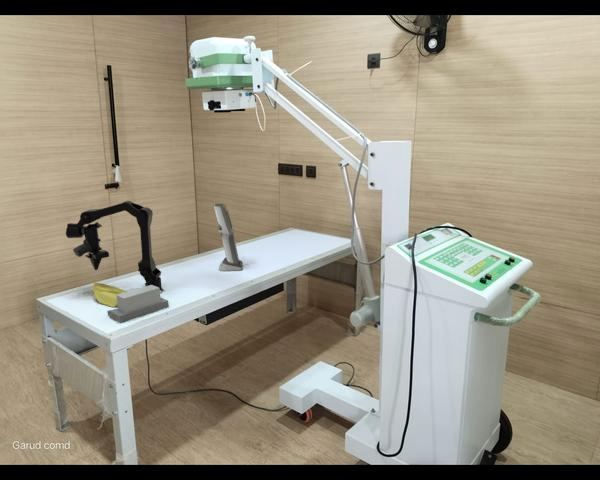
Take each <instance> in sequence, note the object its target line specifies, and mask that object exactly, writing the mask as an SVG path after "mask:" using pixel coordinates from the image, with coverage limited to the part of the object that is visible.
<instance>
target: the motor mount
mask: <svg viewBox="0 0 600 480" xmlns="http://www.w3.org/2000/svg"><path fill="white" fill-rule="evenodd" d="M162 293H163V291H160V288H158V287H156V286H153V285H149V286H146V287H145V286H143V287H142V286H141V287H140V288H136V289H132V290H129V291H128V292H125V293H121V294H118V295H116V297H117V305H118V306H117V307H115V308H114V309H109V310H107V312H106V313H107V316H108V317H109V318H110V319H111V320H113V321H115V322H118V323H120V324H123V323H126V322H129V321H132V320H134V319H137V318H141V317H143V316H147V315H149V314H152V313H155V311H156V312H158V310H159V311H162V310H165V309H168V308H170V306H169V300H168V299H165V298H163V297H161V295H162ZM167 307H168V308H167ZM164 308H165V309H164ZM161 309H162V310H161Z"/></svg>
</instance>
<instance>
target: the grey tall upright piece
mask: <svg viewBox="0 0 600 480" xmlns="http://www.w3.org/2000/svg"><path fill="white" fill-rule="evenodd" d="M213 207H214V208H213V209H214V212H215V216H216V219H217V223H218V228H217V232H218V233H220V237H221V242H222V245H223V250H224V253H225V257H224V259H223V260H222V261H221V263H220V264H219V267H218V270H219V271H220V272H233V271H242V270H243V269H244V268H243V267H244V264H243V261H242V260H240V257H239V253H238V248H237V244H236V240H235V239H236V238H235V234H234V227H233V225H232V221H231V217H230V214H229V210H228V206H227V204H225V203H215V204H214V206H213Z"/></svg>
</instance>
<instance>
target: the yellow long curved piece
mask: <svg viewBox="0 0 600 480" xmlns="http://www.w3.org/2000/svg"><path fill="white" fill-rule="evenodd" d="M92 286H93V287H92V291H93V295H94V298H95V300H97V301H98V302H99V303H100V304H102V305H105V306H108V307H110V308H117V307H118V305H117V297H116V295H118V294H121V293H125V292H128V291H127V290H125V289H122V288H119V287H115V286H113V285H109V284H105V283H100V282H94V283H93V285H92Z"/></svg>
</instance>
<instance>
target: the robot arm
mask: <svg viewBox="0 0 600 480" xmlns="http://www.w3.org/2000/svg"><path fill="white" fill-rule="evenodd" d="M121 212H127V213H128V214H129V215H131V216H132V217H135V218H136V223H137V225H138V227H139V231H140V247H141V248H140V249H141V260H140V261H139V262H137V266H138V270H137V271H138V272H139V274H140V276H141V277H142V278H143V280H144V281H145V282H144V285H145V286H144V287H146V286H149V285H153V286H156V287H158V288H160V291H162V292H163V291H164V288H162V277H160V276H161V275H162V271H161V270H160V269H159V268H158V267H157V266H156V262H155V259H154V257H153V253H152V234H151V232H152V231H151V225H152V222H153V215H154V213H153V210H152V209H151V208H149V207H147V206H143V205H140V204H138V203H134V202H133V201H130V200H126V201H123V202H120V203H117V204H113V205H110V206H107V207H102V208H92V209H88V210H85V211H83V212H81V213H80V217H79V218H80V219H79V220H78V222H76V223H73V222H69V223H67V224H66V226H67V227H66V230H65V235H66V237H67V238H68V239H80V238H81V239H82V238H83V237H84V240H82V244H80V245H77V246H76V247H75V248H73V249H72V250H73V251H72V252H73V253H74V254H75V256H76V257H83V255H84V257H85V258H87V259H89V261H90V262H91V265H92V267H93V269H94V271H98V269H99V267H100V265H101V261H102V259H106V258H109V257H110V253H109V251H107V250H105V249H103V248H102V247H100V242H102V241H101V238H99V230H98V229H100V228H101V227H103V226H102V224H100V223H99V222H97V221H98V220H100V219H102V218H104V217H109V216H113V215H114V214H117V213H121ZM93 222H95V223H93ZM85 254H86V255H85Z"/></svg>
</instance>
